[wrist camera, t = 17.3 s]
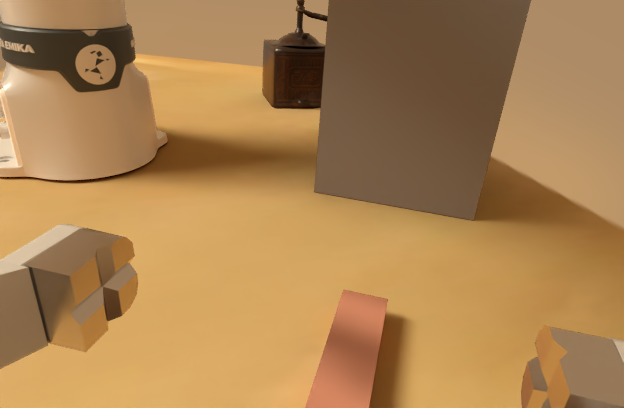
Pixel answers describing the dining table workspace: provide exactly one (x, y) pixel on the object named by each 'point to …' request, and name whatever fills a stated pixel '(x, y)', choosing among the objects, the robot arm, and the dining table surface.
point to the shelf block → (414, 99)
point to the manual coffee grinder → (294, 67)
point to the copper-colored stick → (350, 354)
